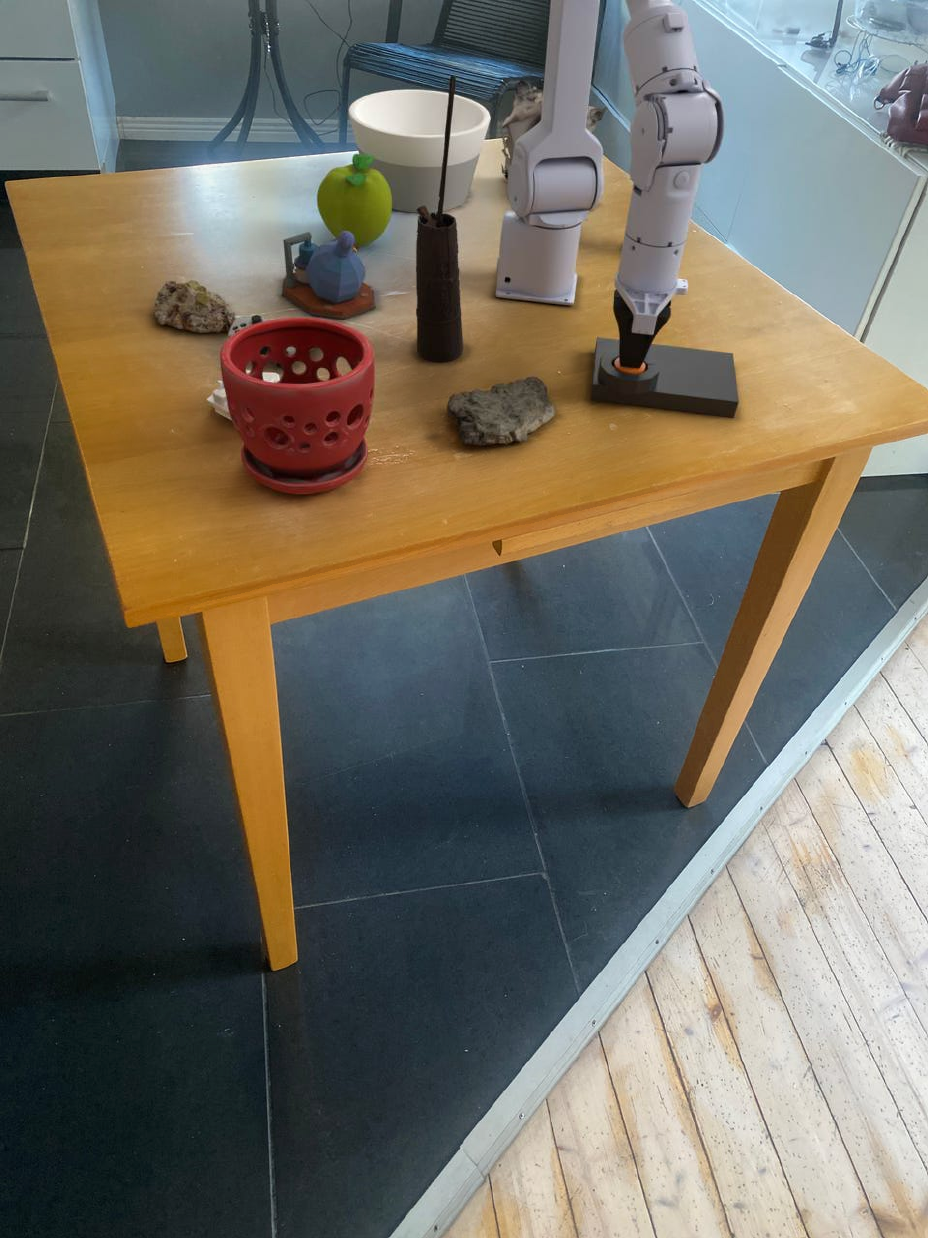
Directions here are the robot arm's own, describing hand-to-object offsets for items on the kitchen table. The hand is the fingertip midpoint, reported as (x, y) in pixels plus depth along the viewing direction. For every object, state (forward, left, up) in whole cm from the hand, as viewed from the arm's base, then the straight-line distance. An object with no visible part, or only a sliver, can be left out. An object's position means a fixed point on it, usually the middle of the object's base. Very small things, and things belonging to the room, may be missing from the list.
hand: (630, 364), depth 98 cm
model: (-36, +14, -4) cm, 38 cm away
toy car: (-38, -11, -4) cm, 39 cm away
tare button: (0, 0, -2) cm, 2 cm away
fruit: (-36, +29, -4) cm, 46 cm away
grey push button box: (+4, +3, -3) cm, 6 cm away
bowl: (-31, +47, -4) cm, 56 cm away
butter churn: (-22, +5, -4) cm, 22 cm away
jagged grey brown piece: (-13, +52, -4) cm, 54 cm away
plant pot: (-30, -19, -4) cm, 35 cm away
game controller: (-39, 0, -4) cm, 39 cm away
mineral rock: (-49, +5, -4) cm, 49 cm away
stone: (-13, -8, -4) cm, 15 cm away
